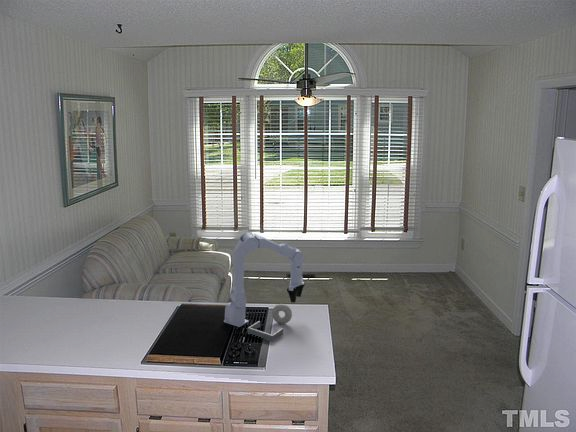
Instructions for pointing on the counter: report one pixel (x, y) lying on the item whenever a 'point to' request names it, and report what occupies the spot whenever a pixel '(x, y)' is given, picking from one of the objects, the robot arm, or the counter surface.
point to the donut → (285, 309)
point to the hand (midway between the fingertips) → (295, 299)
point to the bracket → (264, 335)
